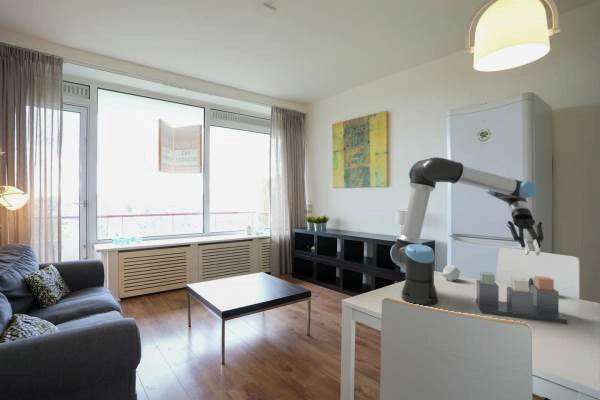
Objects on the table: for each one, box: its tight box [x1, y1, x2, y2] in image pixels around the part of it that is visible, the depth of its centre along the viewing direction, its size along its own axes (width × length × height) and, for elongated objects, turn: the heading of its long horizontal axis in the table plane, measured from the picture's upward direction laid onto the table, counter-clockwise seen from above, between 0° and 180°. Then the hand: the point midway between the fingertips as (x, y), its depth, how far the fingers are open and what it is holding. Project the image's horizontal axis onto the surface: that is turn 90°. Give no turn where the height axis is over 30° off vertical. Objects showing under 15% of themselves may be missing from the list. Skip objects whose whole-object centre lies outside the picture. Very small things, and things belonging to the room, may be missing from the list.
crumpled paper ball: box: [442, 264, 461, 282], centre depth 160 cm, size 8×9×10 cm
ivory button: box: [510, 276, 529, 292], centre depth 112 cm, size 4×4×8 cm
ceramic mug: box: [528, 277, 535, 291], centre depth 138 cm, size 10×8×7 cm
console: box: [475, 279, 568, 325], centre depth 115 cm, size 26×13×10 cm, turn 68°
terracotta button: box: [534, 275, 555, 291], centre depth 114 cm, size 4×4×8 cm
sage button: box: [479, 271, 496, 285], centre depth 121 cm, size 4×4×8 cm
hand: (533, 253), depth 125 cm, fingers open, 3 cm apart
